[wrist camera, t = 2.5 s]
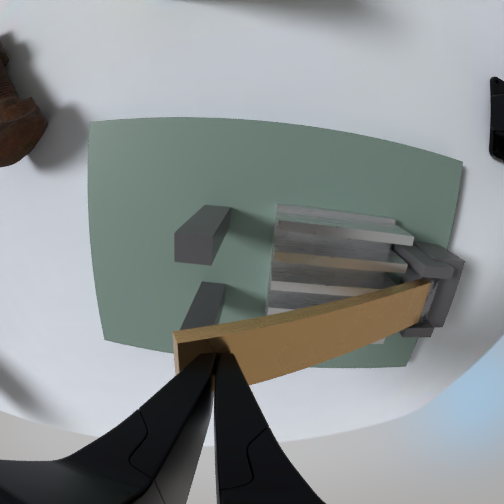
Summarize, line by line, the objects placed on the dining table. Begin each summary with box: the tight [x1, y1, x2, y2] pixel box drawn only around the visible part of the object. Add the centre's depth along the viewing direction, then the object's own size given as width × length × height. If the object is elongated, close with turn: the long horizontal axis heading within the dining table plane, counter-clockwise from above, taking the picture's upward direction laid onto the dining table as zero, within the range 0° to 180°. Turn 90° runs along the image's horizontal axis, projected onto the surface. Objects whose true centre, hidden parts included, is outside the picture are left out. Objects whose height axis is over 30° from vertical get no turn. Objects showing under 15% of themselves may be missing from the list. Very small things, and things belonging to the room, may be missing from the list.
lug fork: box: [174, 205, 231, 330], centre depth 15 cm, size 2×6×6 cm, turn 175°
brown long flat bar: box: [172, 277, 440, 385], centre depth 11 cm, size 14×3×1 cm, turn 86°
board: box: [88, 117, 463, 368], centre depth 18 cm, size 24×16×1 cm, turn 85°
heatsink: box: [264, 202, 414, 344], centre depth 16 cm, size 7×7×3 cm
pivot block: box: [391, 241, 465, 337], centre depth 16 cm, size 4×4×4 cm
